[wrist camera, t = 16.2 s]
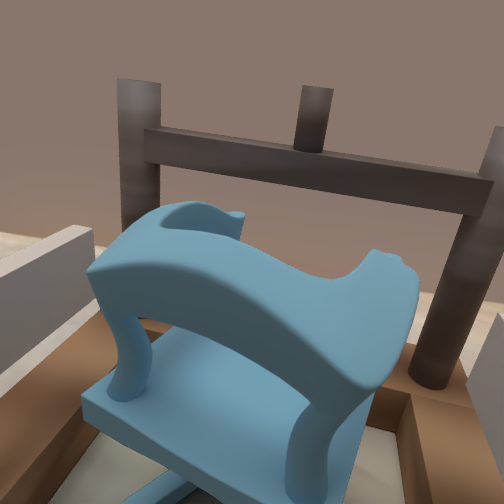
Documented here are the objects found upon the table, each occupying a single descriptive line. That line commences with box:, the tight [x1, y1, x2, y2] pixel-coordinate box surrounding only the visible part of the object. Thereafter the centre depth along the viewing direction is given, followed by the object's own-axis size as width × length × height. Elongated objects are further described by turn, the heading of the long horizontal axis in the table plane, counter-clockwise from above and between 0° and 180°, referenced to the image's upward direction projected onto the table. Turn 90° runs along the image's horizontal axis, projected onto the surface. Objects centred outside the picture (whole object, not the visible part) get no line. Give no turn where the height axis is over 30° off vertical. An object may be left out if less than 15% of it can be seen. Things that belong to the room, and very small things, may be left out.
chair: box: [81, 201, 420, 504], centre depth 11 cm, size 8×8×12 cm
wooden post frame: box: [0, 79, 504, 504], centre depth 13 cm, size 16×19×15 cm
